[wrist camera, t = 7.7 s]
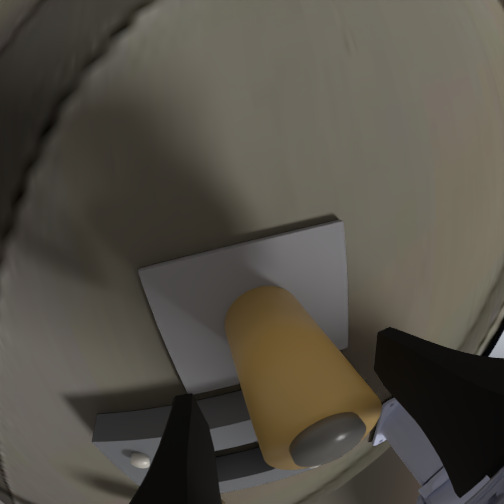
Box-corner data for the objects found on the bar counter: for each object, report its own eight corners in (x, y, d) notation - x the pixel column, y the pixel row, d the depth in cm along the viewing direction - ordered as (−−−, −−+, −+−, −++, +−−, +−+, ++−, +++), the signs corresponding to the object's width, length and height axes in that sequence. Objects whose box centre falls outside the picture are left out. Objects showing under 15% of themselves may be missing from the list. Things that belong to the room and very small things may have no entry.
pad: (339, 219, 14) (343, 221, 13) (344, 343, 16) (347, 347, 16) (139, 268, 12) (137, 271, 12) (188, 390, 15) (188, 395, 14)
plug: (299, 278, 14) (400, 381, 6) (301, 343, 15) (374, 450, 7) (218, 294, 13) (260, 432, 5) (230, 360, 14) (270, 488, 7)
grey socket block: (331, 360, 16) (354, 391, 14) (330, 437, 20) (344, 461, 17) (97, 414, 14) (90, 449, 11) (156, 478, 17) (157, 505, 14)
